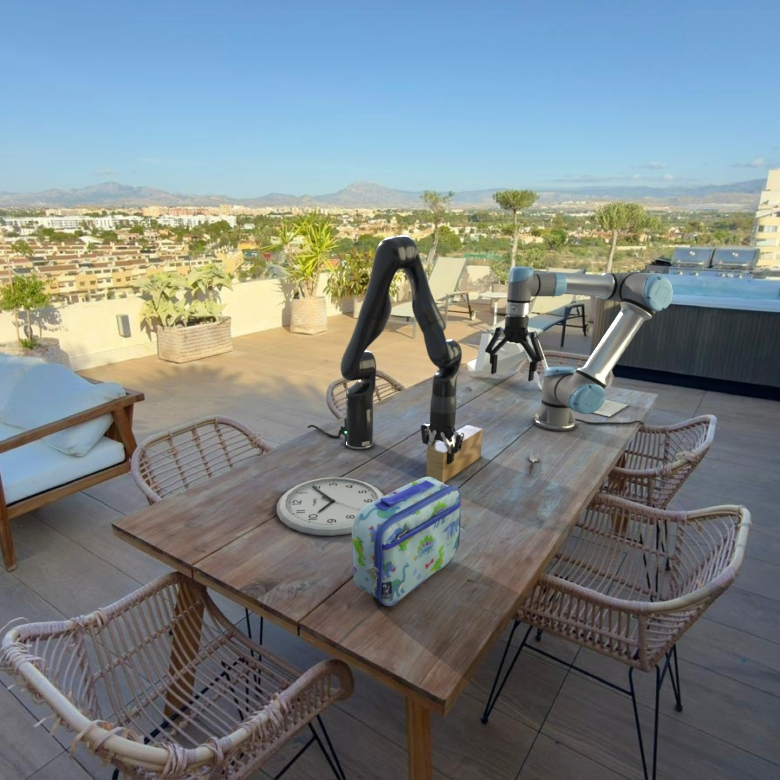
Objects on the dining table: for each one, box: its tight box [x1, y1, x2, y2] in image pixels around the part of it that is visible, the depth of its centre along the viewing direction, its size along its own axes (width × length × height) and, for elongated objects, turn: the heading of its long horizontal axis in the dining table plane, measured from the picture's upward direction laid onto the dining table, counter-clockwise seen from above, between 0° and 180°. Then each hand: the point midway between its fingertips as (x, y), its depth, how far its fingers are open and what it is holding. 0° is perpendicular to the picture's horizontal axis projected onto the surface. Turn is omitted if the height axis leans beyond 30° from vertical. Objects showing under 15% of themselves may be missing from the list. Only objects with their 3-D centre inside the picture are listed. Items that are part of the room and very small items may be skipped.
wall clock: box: [276, 476, 385, 537], centre depth 142 cm, size 30×2×30 cm
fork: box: [529, 450, 539, 475], centre depth 168 cm, size 3×16×2 cm, turn 160°
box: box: [425, 424, 484, 484], centre depth 165 cm, size 25×6×10 cm, turn 143°
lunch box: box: [351, 476, 462, 607], centre depth 111 cm, size 26×11×21 cm, turn 135°
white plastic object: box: [466, 327, 549, 390], centre depth 259 cm, size 37×45×31 cm
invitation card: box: [592, 398, 629, 418], centre depth 226 cm, size 21×1×15 cm
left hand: (440, 460), depth 158 cm, fingers closed on box, 5 cm apart
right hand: (511, 376), depth 179 cm, fingers open, 13 cm apart
